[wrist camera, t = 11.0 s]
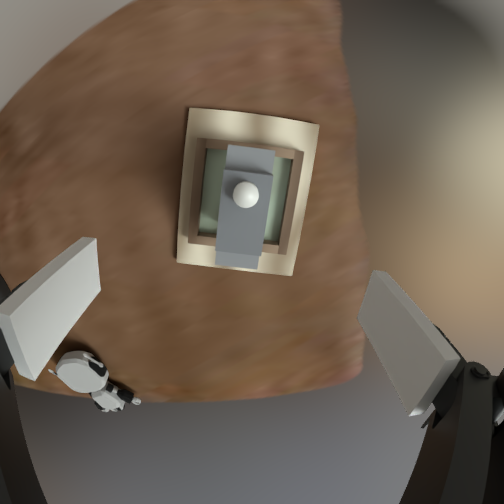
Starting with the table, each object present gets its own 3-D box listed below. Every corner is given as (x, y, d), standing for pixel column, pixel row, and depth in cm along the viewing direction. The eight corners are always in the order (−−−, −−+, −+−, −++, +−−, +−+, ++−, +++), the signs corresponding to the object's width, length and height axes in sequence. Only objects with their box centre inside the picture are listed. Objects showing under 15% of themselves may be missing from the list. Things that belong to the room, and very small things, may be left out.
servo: (220, 241, 33) (211, 276, 25) (231, 143, 29) (226, 145, 21) (255, 245, 34) (258, 282, 25) (269, 148, 30) (278, 152, 21)
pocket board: (178, 259, 35) (173, 267, 33) (191, 108, 29) (186, 106, 26) (291, 273, 36) (293, 282, 34) (317, 125, 29) (323, 124, 27)
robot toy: (148, 390, 46) (89, 335, 40) (143, 410, 42) (79, 354, 36) (107, 402, 48) (53, 354, 42) (102, 419, 44) (44, 370, 38)
